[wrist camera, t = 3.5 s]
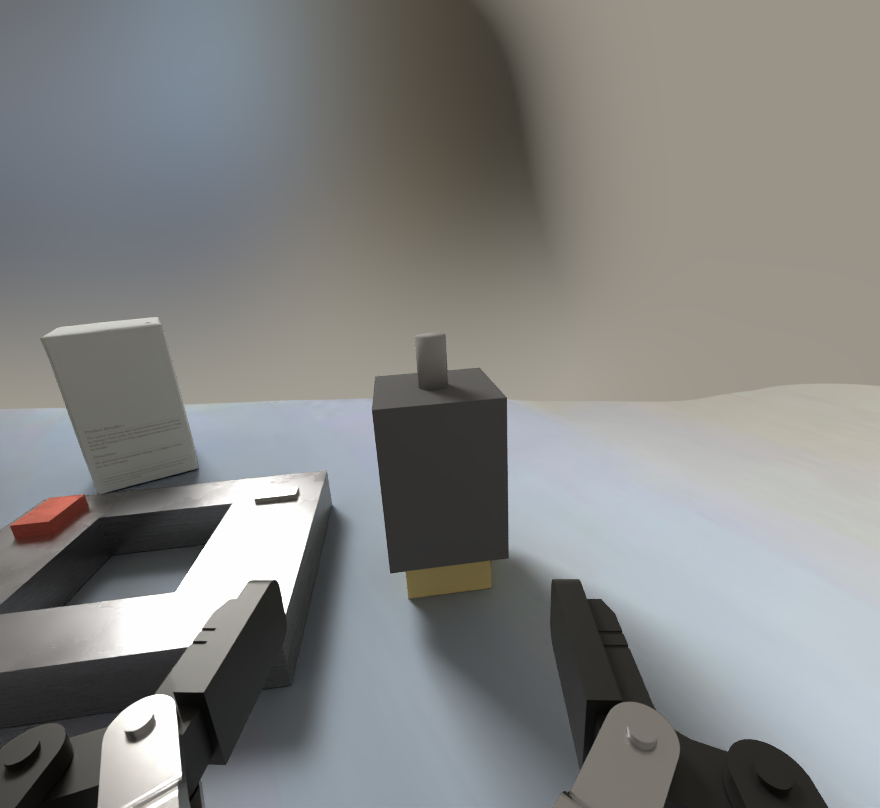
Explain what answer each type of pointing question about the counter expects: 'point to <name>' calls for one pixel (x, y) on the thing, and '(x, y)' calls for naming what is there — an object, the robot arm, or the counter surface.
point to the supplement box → (122, 400)
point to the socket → (150, 617)
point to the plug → (442, 472)
